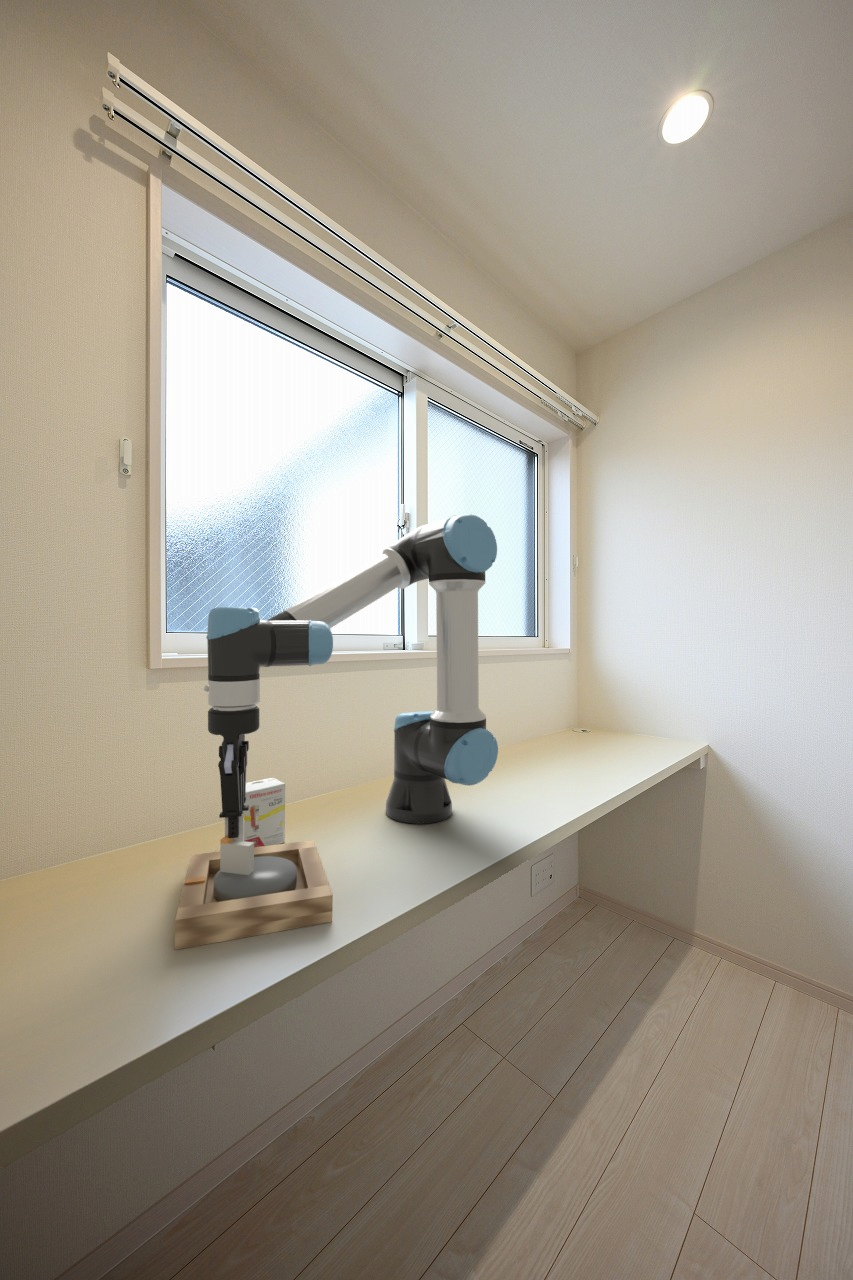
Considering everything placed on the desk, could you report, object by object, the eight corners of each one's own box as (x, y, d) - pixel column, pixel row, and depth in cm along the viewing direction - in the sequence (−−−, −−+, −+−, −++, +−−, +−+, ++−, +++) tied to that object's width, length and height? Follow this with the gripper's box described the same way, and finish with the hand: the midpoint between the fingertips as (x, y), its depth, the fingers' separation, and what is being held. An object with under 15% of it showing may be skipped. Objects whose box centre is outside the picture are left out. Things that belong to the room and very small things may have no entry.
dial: (309, 872, 82) (309, 829, 82) (273, 912, 70) (274, 861, 70) (241, 865, 84) (241, 823, 84) (195, 902, 72) (196, 853, 72)
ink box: (243, 856, 91) (244, 791, 91) (231, 848, 95) (232, 785, 95) (285, 842, 98) (286, 782, 98) (272, 835, 101) (273, 776, 101)
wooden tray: (313, 861, 90) (314, 838, 90) (332, 921, 71) (332, 892, 71) (190, 878, 83) (190, 853, 83) (174, 949, 64) (175, 917, 64)
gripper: (216, 700, 84) (216, 839, 85) (199, 714, 72) (200, 877, 73) (263, 699, 86) (263, 836, 87) (254, 712, 73) (255, 872, 74)
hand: (234, 854), depth 80 cm, fingers closed
